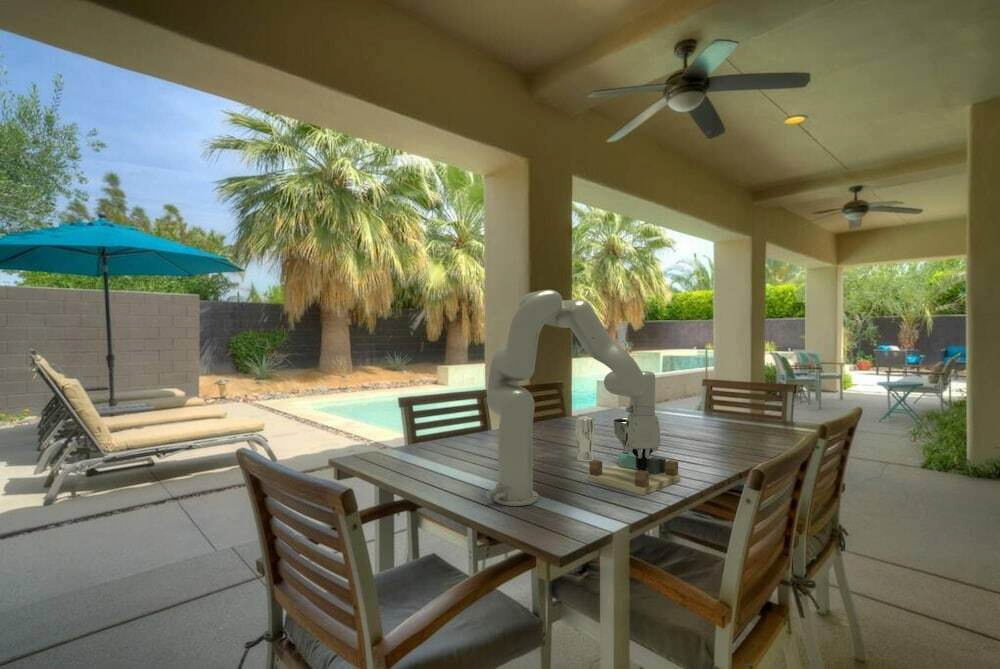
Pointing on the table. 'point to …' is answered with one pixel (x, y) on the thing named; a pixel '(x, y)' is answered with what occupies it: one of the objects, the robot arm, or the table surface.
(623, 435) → the silver goblet
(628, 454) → the leg
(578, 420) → the beer glass
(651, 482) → the seat
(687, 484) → the table surface
